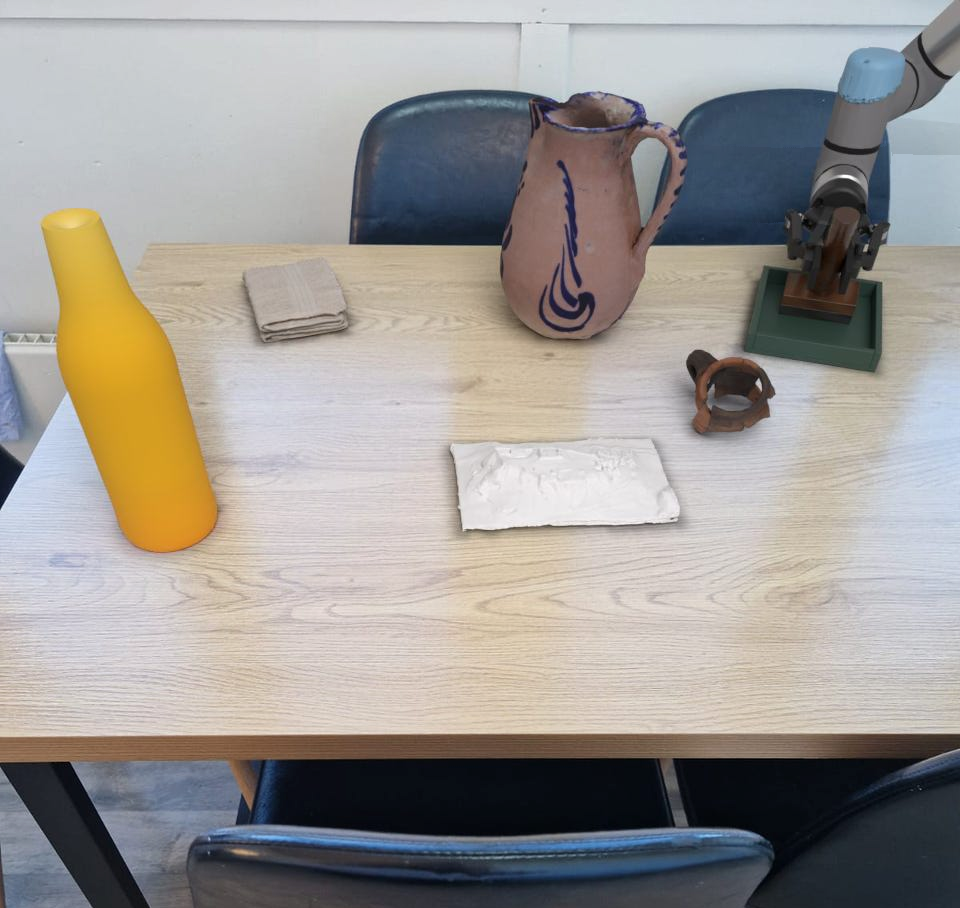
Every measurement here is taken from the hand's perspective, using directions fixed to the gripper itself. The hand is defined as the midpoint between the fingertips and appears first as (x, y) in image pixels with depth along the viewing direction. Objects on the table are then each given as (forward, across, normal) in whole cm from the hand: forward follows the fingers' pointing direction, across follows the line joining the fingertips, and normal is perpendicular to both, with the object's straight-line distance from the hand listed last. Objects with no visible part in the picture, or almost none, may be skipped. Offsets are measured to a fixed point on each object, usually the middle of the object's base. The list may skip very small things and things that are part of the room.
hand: (829, 280), depth 103 cm
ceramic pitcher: (+5, +29, -8) cm, 30 cm away
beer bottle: (+56, +58, -8) cm, 81 cm away
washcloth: (+12, +66, -8) cm, 67 cm away
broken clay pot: (+20, +9, -8) cm, 23 cm away
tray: (-5, 0, -8) cm, 10 cm away
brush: (-8, 0, -7) cm, 11 cm away
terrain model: (+38, +23, -8) cm, 45 cm away
